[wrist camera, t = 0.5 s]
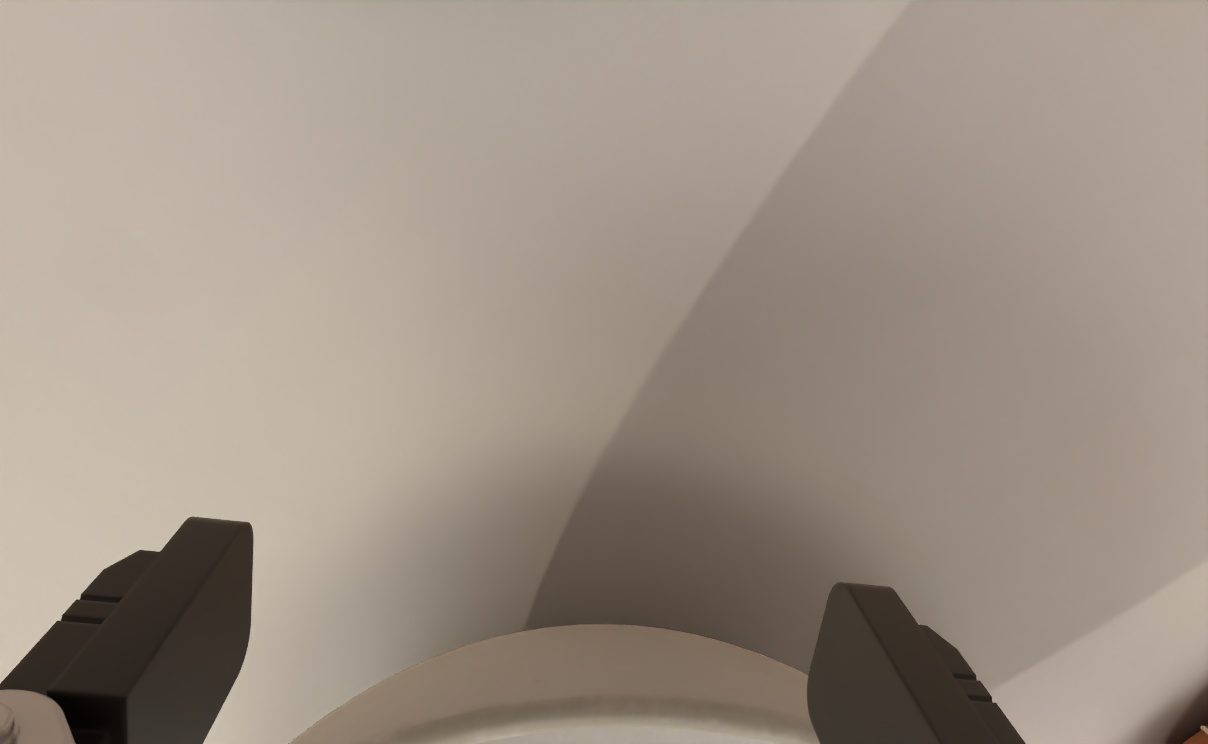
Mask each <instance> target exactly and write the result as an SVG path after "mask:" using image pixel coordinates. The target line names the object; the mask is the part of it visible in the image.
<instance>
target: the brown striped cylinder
mask: <svg viewBox="0 0 1208 744" xmlns="http://www.w3.org/2000/svg"><path fill="white" fill-rule="evenodd" d="M1200 729H1201V731H1199V732H1198V733H1197V734H1195V735H1194V736H1192V737H1191V738H1189V739H1188V740H1187V741H1185V742H1184V743H1182V744H1208V726H1206V727H1205V726H1204V725H1202V726H1201V727H1200Z"/></svg>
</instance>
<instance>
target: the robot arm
mask: <svg viewBox="0 0 1208 744" xmlns="http://www.w3.org/2000/svg"><path fill="white" fill-rule="evenodd" d="M252 569H253V530H252V526H251V524H250V523H248V522H240V521H230V520H220V519H210V518H200V517H190V518H188V519H187V520H186V521H185V522H184V523H183V525H182V526H181V527H180V528H179V529H178V531H177V532H176V533H175V534H174V536H173V537H172V538H171V539H170V540H169V542H168V543H167V544H166V545H165V547H164V548H163V549H162V550H161V551H160V552H155V551H144V550H139V551H137V552H135V553H133V554H132V555H130V556H128V557H126V558H124V559H122V560H121V561H119V562H117V563H115V564H113V565H111V566H110V567H108V568H106V569H104V570H103V571H102V572H101V573H100V574H99V575H98V576H97V578H96V579H95V580H94V581H93V582H92V583H91V584H90V585H89V586H88V588H87V589H86V590H85V591H84V592H83V593H82V594H81V598H80V600H76V601H75V602H74V603H73V604H72V605H71V606H70V607H69V609H68V610H67V611H66V612H65V613H64V614H63V615H62V619H61V621H57V622H56V623H55V624H54V625H53V626H52V627H51V628H50V630H49V631H48V632H47V633H46V634H45V635H44V636H43V637H42V638H41V639H40V641H39V642H38V643H37V644H36V645H35V646H34V647H33V648H32V649H31V651H30V652H29V653H28V654H27V655H26V656H25V657H24V658H23V659H22V660H21V662H20V663H19V664H18V665H17V666H16V667H15V668H14V669H13V670H12V672H11V673H10V674H9V675H8V676H7V677H6V678H5V679H4V680H3V681H2V683H1V684H0V744H203V742H204V740H205V738H206V736H207V734H208V732H209V731H210V729H211V727H212V725H213V723H214V721H215V719H216V717H217V715H218V713H219V711H220V709H221V707H222V705H223V703H224V702H225V700H226V698H227V696H228V694H229V692H230V690H231V688H232V686H233V684H234V682H235V680H236V678H237V676H238V674H239V672H240V670H241V667H242V665H243V662H244V658H245V655H246V651H247V647H248V642H249V636H250V627H251V602H252ZM807 705H808V712H809V716H810V720H811V723H812V725H813V728H814V730H815V733H816V735H817V737H818V740H819V742H820V744H1025V742H1024V741H1023V739H1022V738H1021V737H1020V735H1019V734H1018V733H1017V731H1016V730H1015V728H1014V727H1013V726H1012V724H1011V723H1010V722H1009V720H1008V719H1007V717H1006V716H1005V715H1004V713H1003V712H1002V711H1001V709H1000V708H999V706H998V705H997V704H996V703H992V697H991V695H990V694H989V693H988V691H987V690H986V688H985V687H984V686H983V684H982V683H981V682H980V681H976V675H975V673H974V672H973V671H972V669H971V668H970V666H969V665H968V664H967V662H966V661H965V660H964V658H963V657H962V655H961V654H960V653H959V651H958V650H957V649H956V648H955V647H953V646H952V645H951V644H949V643H948V642H947V641H946V640H944V639H943V638H942V637H941V636H939V635H938V634H937V633H935V632H934V631H933V630H932V629H930V628H929V627H928V626H924V625H918V624H917V622H916V621H915V619H914V618H913V616H912V615H911V613H910V612H909V611H908V609H907V608H906V606H905V605H904V603H903V602H902V600H901V599H900V597H899V596H898V595H897V593H896V592H895V591H894V589H892V588H890V587H885V586H875V585H864V584H854V583H844V582H838V583H836V584H835V585H834V586H833V588H832V590H831V592H830V594H829V597H828V601H827V605H826V609H825V612H824V616H823V620H822V624H821V628H820V632H819V636H818V640H817V644H816V648H815V651H814V655H813V659H812V663H811V667H810V671H809V676H808V682H807Z"/></svg>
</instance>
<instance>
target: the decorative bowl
mask: <svg viewBox="0 0 1208 744" xmlns="http://www.w3.org/2000/svg"><path fill="white" fill-rule="evenodd" d="M808 676H809V675H807V674H805V673H803V672H801V671H799V670H797V669H794V668H792V667H790V666H788V665H785V664H783V663H781V662H778V661H776V660H774V659H771V658H769V657H767V656H764V655H761V654H759V653H756V652H753V651H750V650H747V649H744V648H741V647H738V646H735V645H732V644H730V643H726V642H722V641H719V640H715V639H711V638H707V637H703V636H700V635H695V634H691V633H685V632H680V631H675V630H669V629H663V628H655V627H646V626H637V625H617V624H579V625H566V626H555V627H546V628H540V629H533V630H527V631H521V632H516V633H511V634H507V635H502V636H498V637H493V638H489V639H486V640H483V641H479V642H476V643H473V644H469V645H466V646H462V647H460V648H457V649H454V650H452V651H449V652H446V653H444V654H441V655H438V656H436V657H433V658H430V659H428V660H425V661H423V662H421V663H419V664H417V665H414V666H412V667H410V668H408V669H406V670H404V671H401V672H399V673H397V674H395V675H393V676H391V677H389V678H388V679H386V680H384V681H382V682H380V683H378V684H377V685H375V686H373V687H371V688H369V689H367V690H366V691H364V692H362V693H360V694H359V695H357V696H355V697H354V698H352V699H351V700H349V701H348V702H346V703H345V704H343V705H341V706H340V707H338V708H337V709H335V710H334V711H332V712H331V713H329V714H328V715H326V716H325V717H323V718H322V719H320V720H319V721H317V722H316V723H315V724H313V725H312V726H311V727H310V728H308V729H307V730H306V731H304V732H303V733H302V734H300V735H299V736H298V737H297V738H295V739H294V740H293V741H291V742H290V743H289V744H820V742H819V740H818V737H817V735H816V733H815V730H814V728H813V725H812V723H811V720H810V716H809V712H808V705H807V682H808Z"/></svg>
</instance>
